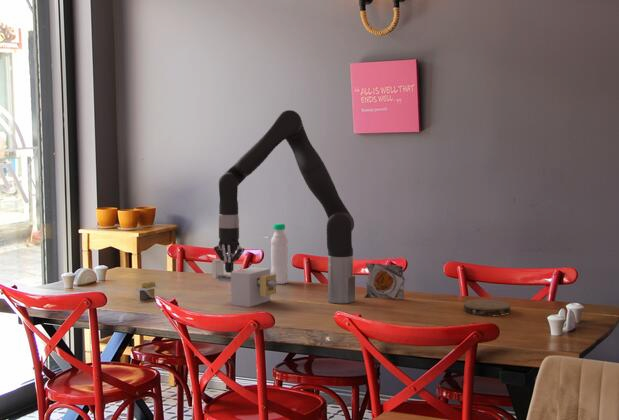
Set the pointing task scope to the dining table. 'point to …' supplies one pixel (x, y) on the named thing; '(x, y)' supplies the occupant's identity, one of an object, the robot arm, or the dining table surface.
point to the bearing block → (247, 287)
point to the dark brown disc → (486, 307)
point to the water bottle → (279, 254)
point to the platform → (147, 290)
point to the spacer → (264, 287)
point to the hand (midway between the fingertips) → (229, 272)
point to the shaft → (219, 274)
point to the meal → (385, 281)
